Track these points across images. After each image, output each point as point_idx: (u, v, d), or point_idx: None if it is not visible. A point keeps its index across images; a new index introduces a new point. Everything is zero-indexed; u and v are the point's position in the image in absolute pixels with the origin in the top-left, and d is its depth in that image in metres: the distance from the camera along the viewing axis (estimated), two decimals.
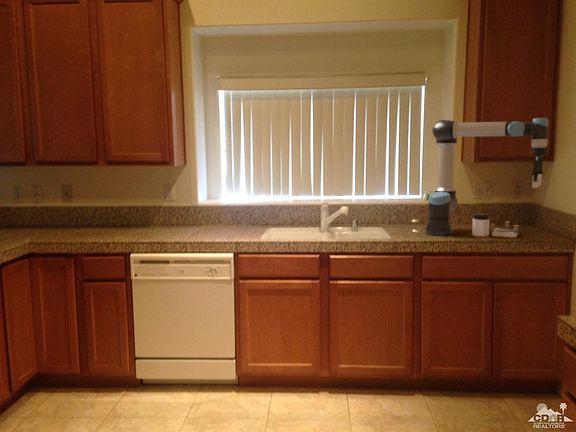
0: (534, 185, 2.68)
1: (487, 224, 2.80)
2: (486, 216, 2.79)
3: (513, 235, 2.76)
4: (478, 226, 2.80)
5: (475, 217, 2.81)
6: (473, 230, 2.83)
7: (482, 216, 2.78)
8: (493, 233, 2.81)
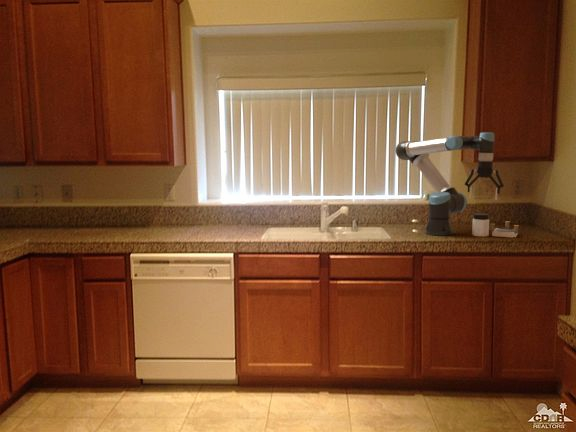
0: None
1: (487, 224, 2.80)
2: (486, 216, 2.79)
3: (513, 235, 2.76)
4: (478, 226, 2.80)
5: (475, 217, 2.81)
6: (473, 230, 2.83)
7: (482, 216, 2.78)
8: (493, 233, 2.81)
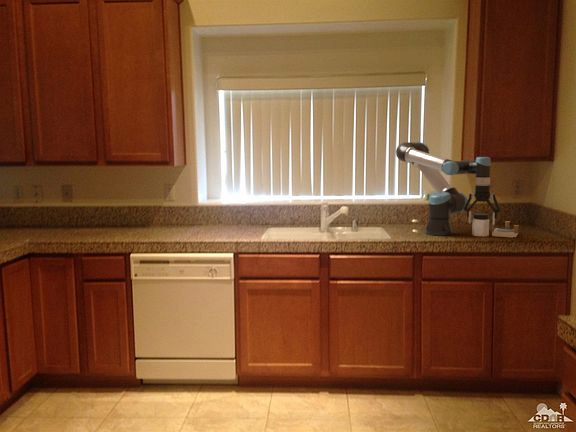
0: None
1: (487, 224, 2.80)
2: (486, 216, 2.79)
3: (513, 235, 2.76)
4: (478, 226, 2.80)
5: (475, 217, 2.81)
6: (473, 230, 2.83)
7: (482, 216, 2.78)
8: (493, 233, 2.81)
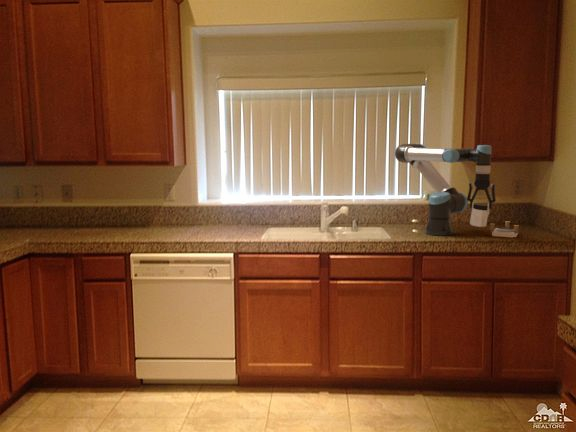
0: None
1: (486, 215, 2.80)
2: (486, 207, 2.78)
3: (513, 235, 2.76)
4: (477, 216, 2.80)
5: (475, 207, 2.80)
6: (471, 219, 2.83)
7: (482, 206, 2.78)
8: (493, 233, 2.81)
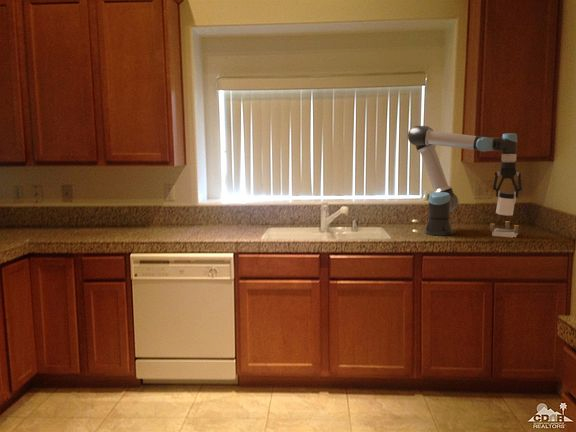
0: (498, 200, 2.83)
1: (512, 203, 2.78)
2: (512, 195, 2.77)
3: (513, 235, 2.76)
4: (503, 205, 2.78)
5: (501, 195, 2.79)
6: (497, 208, 2.82)
7: (508, 195, 2.77)
8: (493, 233, 2.81)
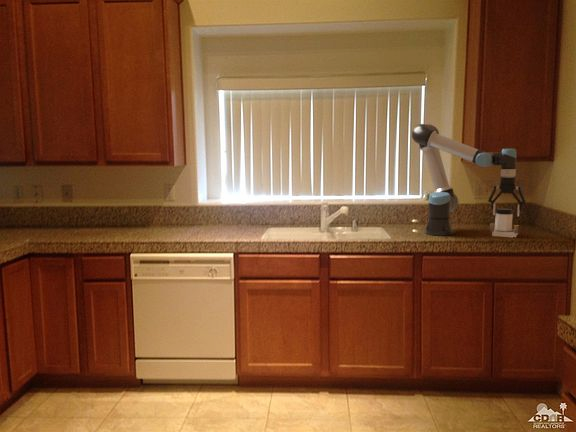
0: None
1: (510, 219, 2.80)
2: (509, 211, 2.79)
3: (513, 235, 2.76)
4: (501, 221, 2.80)
5: (498, 212, 2.81)
6: (496, 225, 2.84)
7: (505, 211, 2.78)
8: (493, 233, 2.81)
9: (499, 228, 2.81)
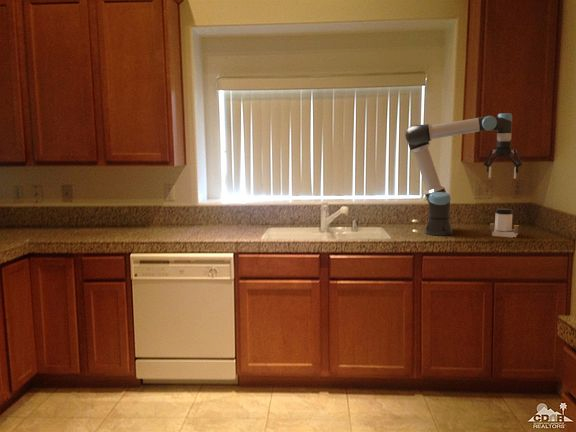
0: None
1: (510, 219, 2.80)
2: (509, 211, 2.79)
3: (513, 235, 2.76)
4: (501, 221, 2.80)
5: (498, 212, 2.81)
6: (496, 225, 2.84)
7: (505, 211, 2.78)
8: (493, 233, 2.81)
9: (499, 228, 2.81)
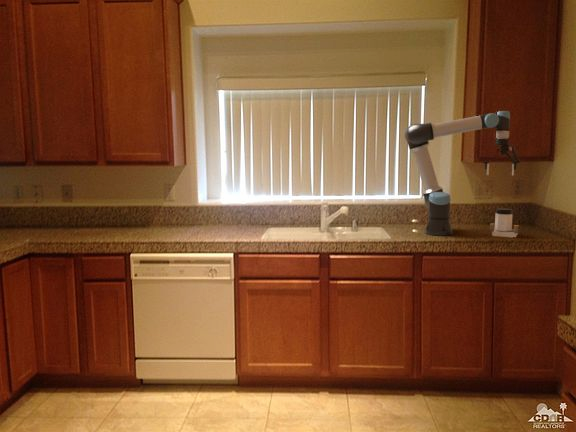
0: (487, 172, 2.98)
1: (510, 219, 2.80)
2: (509, 211, 2.79)
3: (513, 235, 2.76)
4: (501, 221, 2.80)
5: (498, 212, 2.81)
6: (496, 225, 2.84)
7: (505, 211, 2.78)
8: (493, 233, 2.81)
9: (499, 228, 2.81)
